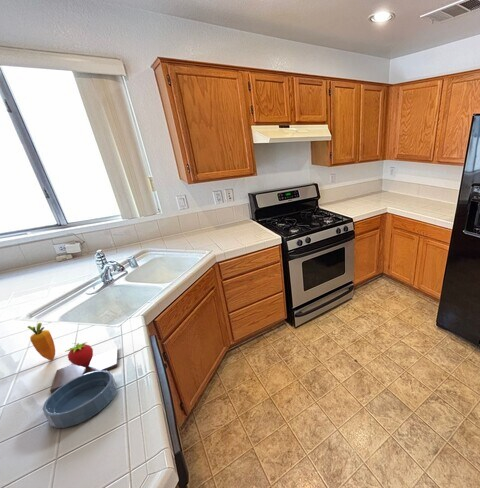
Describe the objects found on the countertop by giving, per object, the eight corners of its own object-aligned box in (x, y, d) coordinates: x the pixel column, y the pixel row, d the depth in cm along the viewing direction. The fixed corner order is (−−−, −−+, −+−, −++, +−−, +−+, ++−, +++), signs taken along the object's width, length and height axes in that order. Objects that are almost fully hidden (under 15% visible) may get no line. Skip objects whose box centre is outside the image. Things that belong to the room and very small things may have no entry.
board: (51, 393, 78) (49, 390, 78) (58, 372, 86) (56, 370, 85) (117, 366, 87) (116, 363, 86) (118, 350, 94) (117, 347, 94)
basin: (44, 441, 64) (36, 426, 63) (56, 400, 75) (49, 387, 74) (117, 407, 72) (111, 393, 70) (118, 375, 83) (113, 362, 82)
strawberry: (76, 378, 81) (64, 352, 78) (72, 367, 86) (60, 342, 83) (100, 366, 86) (89, 341, 82) (95, 356, 90) (85, 332, 87)
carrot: (38, 363, 90) (19, 327, 86) (56, 353, 95) (39, 318, 90) (47, 366, 89) (28, 329, 84) (65, 356, 93) (48, 320, 88)
